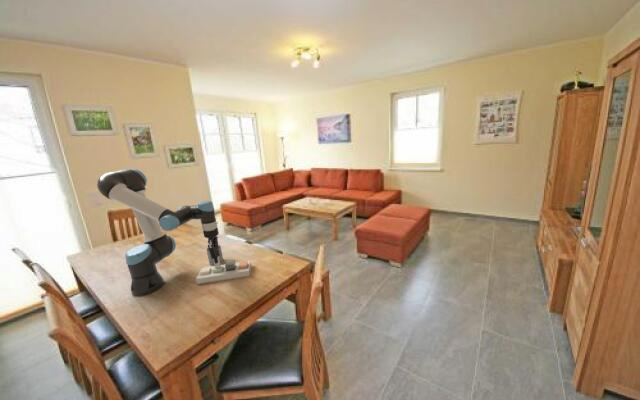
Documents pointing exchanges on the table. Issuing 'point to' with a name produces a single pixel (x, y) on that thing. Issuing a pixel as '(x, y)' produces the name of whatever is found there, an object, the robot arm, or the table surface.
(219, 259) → the cup
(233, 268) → the key charcoal
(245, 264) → the key terracotta
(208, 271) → the key cream
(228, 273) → the keypad
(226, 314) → the table surface
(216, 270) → the key sage
